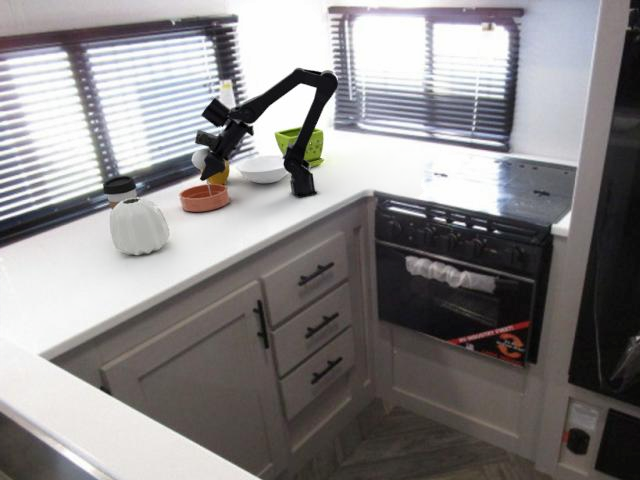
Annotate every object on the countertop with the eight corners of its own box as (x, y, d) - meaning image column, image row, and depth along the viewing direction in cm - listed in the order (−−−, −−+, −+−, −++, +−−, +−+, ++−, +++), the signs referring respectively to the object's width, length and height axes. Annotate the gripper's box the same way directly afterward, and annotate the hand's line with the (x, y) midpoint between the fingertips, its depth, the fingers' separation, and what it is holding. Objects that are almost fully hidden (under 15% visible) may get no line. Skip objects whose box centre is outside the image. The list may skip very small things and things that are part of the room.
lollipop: (204, 202, 176) (192, 154, 169) (199, 197, 181) (187, 150, 173) (223, 197, 179) (212, 149, 172) (218, 193, 183) (207, 146, 176)
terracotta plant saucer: (223, 194, 188) (220, 181, 186) (235, 206, 177) (232, 192, 175) (178, 204, 182) (174, 190, 180) (188, 216, 171) (184, 202, 169)
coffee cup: (155, 226, 165) (140, 176, 158) (134, 238, 158) (118, 185, 151) (132, 224, 168) (116, 174, 160) (110, 236, 161) (93, 184, 153)
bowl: (306, 181, 195) (304, 162, 192) (251, 194, 186) (248, 175, 183) (282, 169, 210) (280, 152, 207) (230, 181, 200) (227, 163, 197)
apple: (210, 180, 203) (202, 147, 197) (236, 179, 202) (229, 145, 196) (199, 188, 195) (191, 154, 189) (227, 188, 194) (219, 153, 188)
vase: (118, 264, 143) (101, 214, 136) (117, 245, 154) (102, 197, 148) (175, 252, 148) (162, 203, 141) (170, 234, 159) (157, 188, 152)
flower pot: (312, 158, 221) (307, 124, 215) (328, 165, 210) (324, 130, 204) (278, 165, 214) (272, 131, 208) (293, 173, 204) (288, 137, 198)
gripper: (209, 114, 177) (182, 154, 181) (204, 126, 161) (173, 170, 165) (240, 137, 182) (213, 175, 186) (238, 151, 166) (208, 192, 170)
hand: (201, 177), depth 176 cm, fingers closed on lollipop, 5 cm apart
